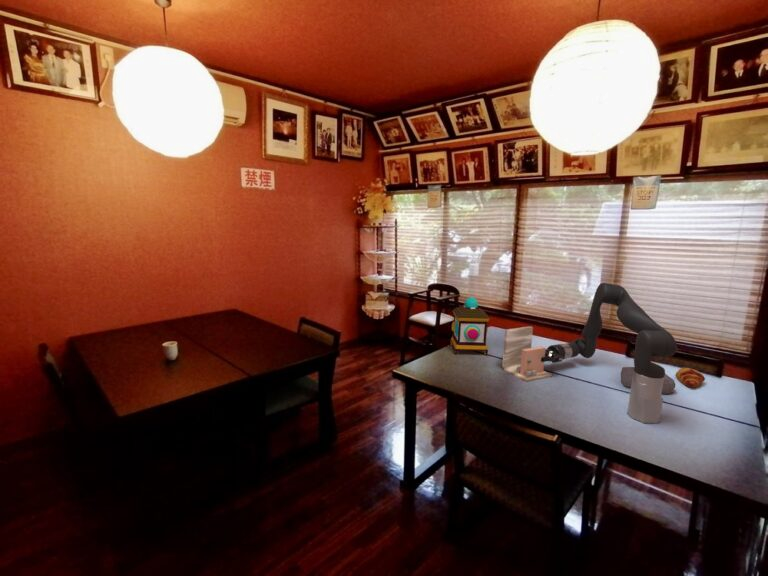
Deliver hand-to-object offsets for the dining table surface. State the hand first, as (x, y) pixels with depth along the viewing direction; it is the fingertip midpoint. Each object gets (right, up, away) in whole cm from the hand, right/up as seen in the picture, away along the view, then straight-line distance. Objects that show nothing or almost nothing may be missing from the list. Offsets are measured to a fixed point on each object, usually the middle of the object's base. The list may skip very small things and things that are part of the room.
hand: (534, 356), depth 173 cm
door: (-1, -8, +1) cm, 8 cm away
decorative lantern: (-23, -3, +33) cm, 41 cm away
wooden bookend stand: (-2, -8, +4) cm, 9 cm away
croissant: (+70, -11, -3) cm, 71 cm away
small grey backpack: (+46, -12, -9) cm, 48 cm away
